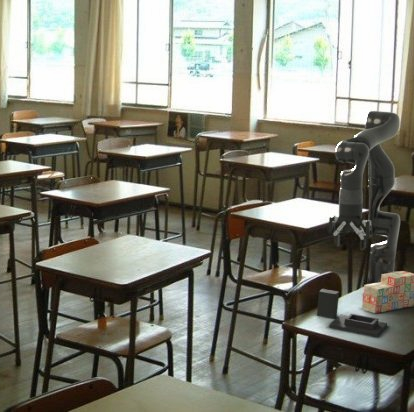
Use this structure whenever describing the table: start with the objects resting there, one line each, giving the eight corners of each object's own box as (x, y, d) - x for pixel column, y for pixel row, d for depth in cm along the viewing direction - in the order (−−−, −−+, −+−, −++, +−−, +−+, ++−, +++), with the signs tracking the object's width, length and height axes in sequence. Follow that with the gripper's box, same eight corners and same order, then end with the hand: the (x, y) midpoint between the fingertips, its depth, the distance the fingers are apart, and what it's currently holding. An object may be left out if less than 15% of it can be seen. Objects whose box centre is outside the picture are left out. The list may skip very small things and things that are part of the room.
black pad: (320, 312, 314) (322, 288, 312) (336, 315, 311) (339, 291, 309) (316, 315, 311) (318, 291, 309) (333, 318, 307) (335, 294, 306)
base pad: (340, 317, 309) (341, 308, 308) (386, 326, 301) (387, 317, 300) (328, 327, 298) (329, 318, 297) (377, 337, 289) (377, 328, 288)
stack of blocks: (375, 314, 314) (378, 281, 311) (361, 309, 319) (364, 276, 317) (413, 305, 325) (417, 274, 322) (399, 301, 330) (403, 270, 328)
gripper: (376, 201, 289) (374, 248, 292) (335, 197, 298) (333, 242, 301) (367, 205, 283) (365, 253, 287) (325, 201, 292) (324, 247, 296)
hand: (349, 248), depth 294 cm, fingers open, 8 cm apart
